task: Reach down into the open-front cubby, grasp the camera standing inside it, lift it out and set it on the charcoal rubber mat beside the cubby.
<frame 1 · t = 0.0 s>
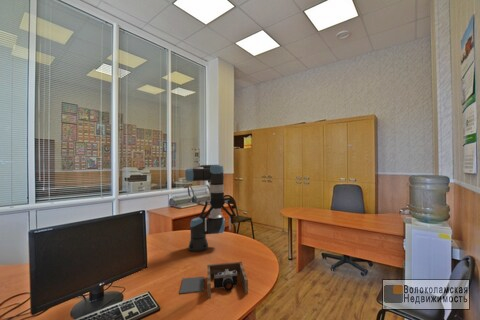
hand: (218, 229, 122), 28 cm above the table, fingers open, 13 cm apart
camera: (226, 288, 114), on the table
mat: (192, 285, 117), on the table
cubby: (226, 284, 116), on the table
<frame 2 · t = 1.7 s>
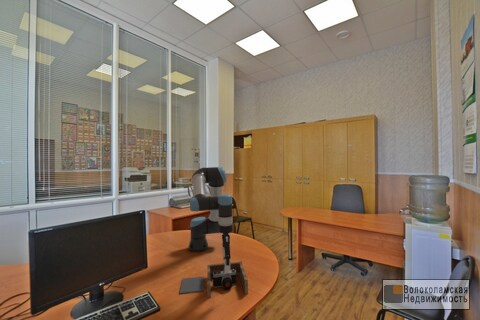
hand: (226, 265, 113), 12 cm above the table, fingers open, 13 cm apart
camera: (225, 287, 115), on the table
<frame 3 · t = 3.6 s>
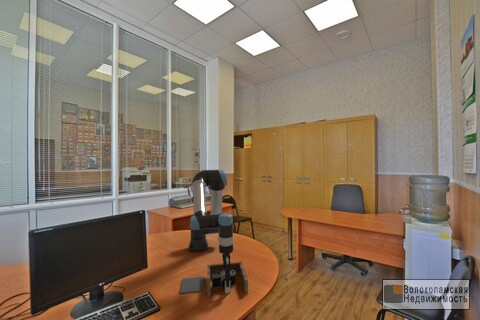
hand: (226, 287, 113), 0 cm above the table, fingers open, 9 cm apart
camera: (224, 288, 114), on the table, touching gripper
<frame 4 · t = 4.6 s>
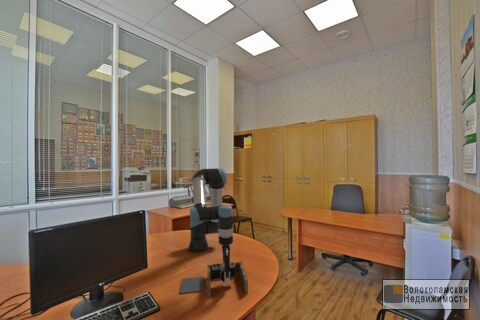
hand: (226, 278, 114), 5 cm above the table, fingers closed on camera, 8 cm apart
camera: (224, 279, 114), point 4 cm above the table, touching gripper
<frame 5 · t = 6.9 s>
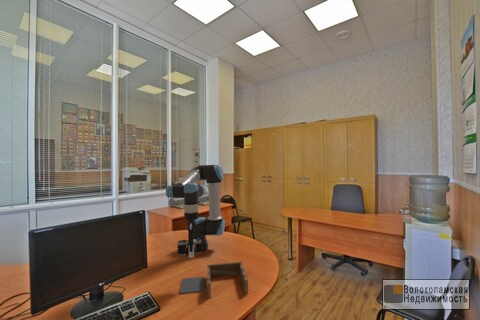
hand: (192, 254, 117), 17 cm above the table, fingers closed on camera, 8 cm apart
camera: (189, 255, 117), point 16 cm above the table, touching gripper
when the fingers open (2 cm above the table, at t = 9.2 s): camera stays where it is, resting on mat.
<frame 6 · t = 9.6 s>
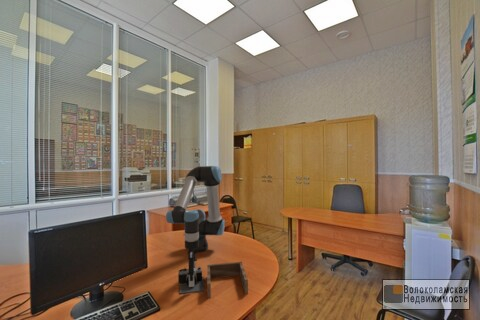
hand: (192, 279, 117), 3 cm above the table, fingers open, 12 cm apart
camera: (190, 284, 117), resting on mat
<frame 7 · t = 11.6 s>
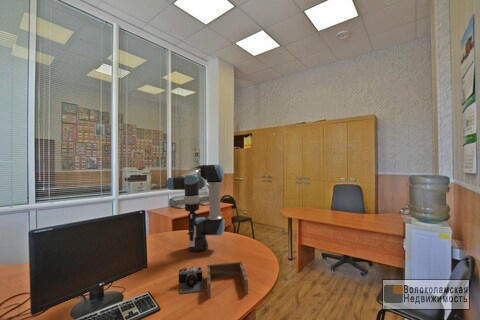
hand: (192, 241, 118), 23 cm above the table, fingers open, 13 cm apart
nothing on the table moved.
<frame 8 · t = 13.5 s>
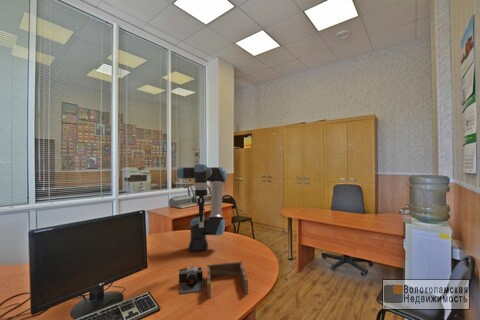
hand: (201, 224, 132), 29 cm above the table, fingers open, 13 cm apart
nothing on the table moved.
at the end: camera inside the target area on the mat (1.2 cm from its centre), point 0.4 cm above the mat's base; camera tilted 0°; the gripper is holding nothing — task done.
